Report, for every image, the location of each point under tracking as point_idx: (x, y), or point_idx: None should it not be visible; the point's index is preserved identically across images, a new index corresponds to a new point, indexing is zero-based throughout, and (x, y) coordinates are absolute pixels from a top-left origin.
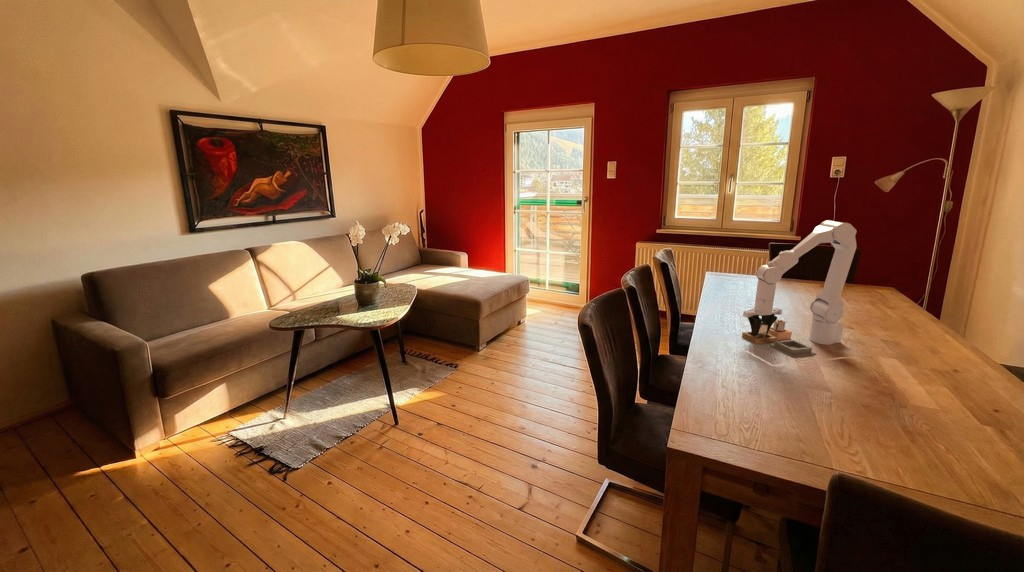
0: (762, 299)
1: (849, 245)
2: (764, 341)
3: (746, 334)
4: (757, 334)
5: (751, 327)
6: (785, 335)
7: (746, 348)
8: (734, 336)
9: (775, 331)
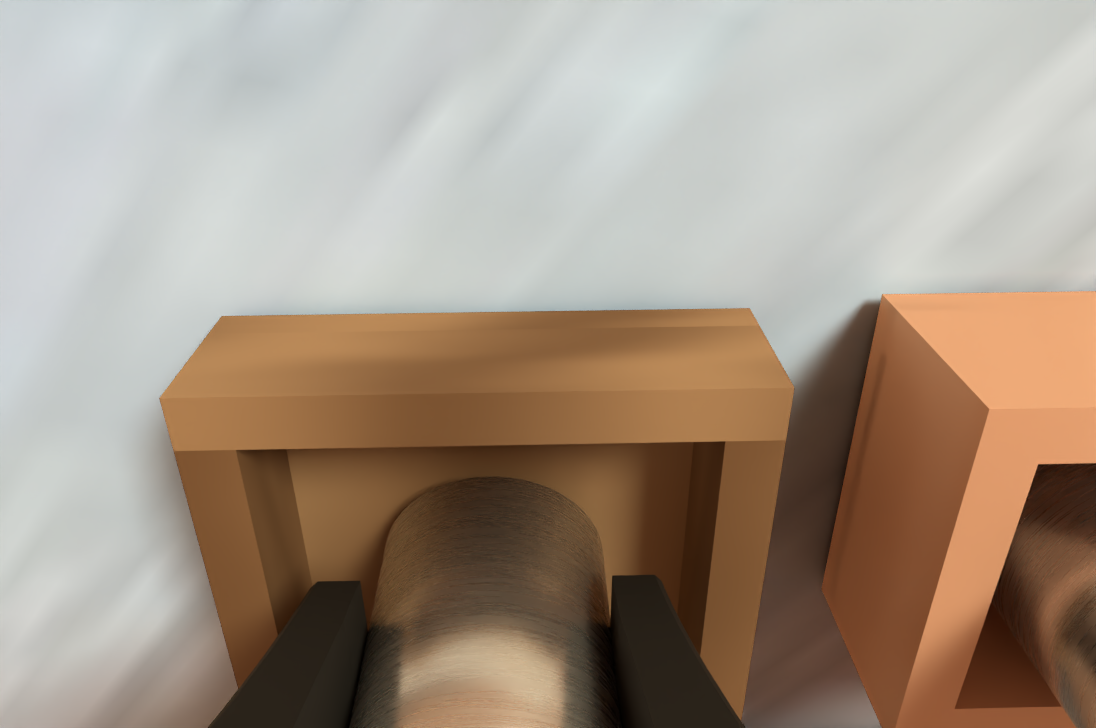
0: None
1: None
2: None
3: (199, 520)
4: None
5: (232, 721)
6: None
7: (69, 687)
8: (121, 135)
9: (947, 665)
